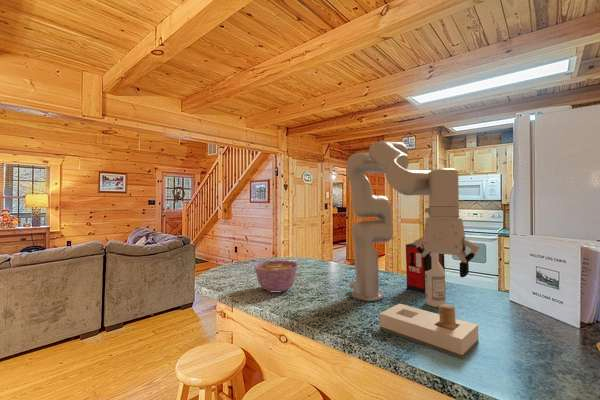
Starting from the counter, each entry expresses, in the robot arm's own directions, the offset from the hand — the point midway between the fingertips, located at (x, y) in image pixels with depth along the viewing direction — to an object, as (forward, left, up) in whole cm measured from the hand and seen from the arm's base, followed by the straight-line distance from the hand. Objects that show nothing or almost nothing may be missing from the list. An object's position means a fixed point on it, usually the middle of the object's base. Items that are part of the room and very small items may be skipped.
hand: (445, 273), depth 83 cm
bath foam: (-15, +27, -20) cm, 36 cm away
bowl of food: (-74, -4, -20) cm, 77 cm away
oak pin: (0, 0, -19) cm, 19 cm away
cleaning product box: (-27, +45, -20) cm, 56 cm away
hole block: (-6, 0, -20) cm, 20 cm away
